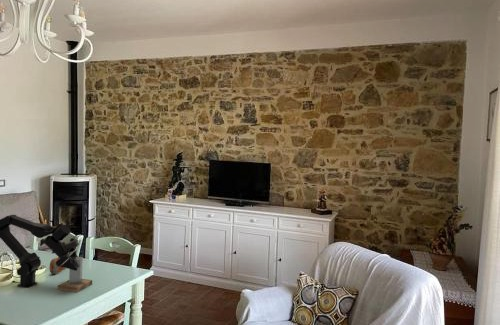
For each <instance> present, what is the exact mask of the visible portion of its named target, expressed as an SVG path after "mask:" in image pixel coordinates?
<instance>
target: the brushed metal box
mask: <svg viewBox="0 0 500 325" xmlns="http://www.w3.org/2000/svg"><path fill="white" fill-rule="evenodd" d="M83 257H84V256H78V257H72V258H71V261H72V262H73V264H74V265H75V266H76V267H77V270H76V271H75V270H71V269H69V270H68V271H69V274H68V275H69V276H68V278H69V279H68V280H69V285H75V284H80V283H81V281H82V279H83Z"/></svg>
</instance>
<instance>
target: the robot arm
mask: <svg viewBox="0 0 500 325" xmlns="http://www.w3.org/2000/svg"><path fill="white" fill-rule="evenodd" d="M11 225H12V226H15V227H17V228H20V229H22V230H26V231H28V232H29V233H30V234H32V236H34V237H36V238H37V239H40V241H39V242H40V243H39V246H40V247H42V246H43V245H45V246H46V247H47V248H49V250H51V254H55V255H56V257H57V256H58V260H57V261H56V265H57V266H58V267H59V266H60V265H61V266H60V267H64V268H65V269H69V270H70V269H71V270H75V271H76V270H77V267H76V266H75V265H74V264H73V262H72V261H71V258H72V257H79V256H78V254H77V251H78V249H77V247H79V245H80V243H79V240H78V239H77V238H75V237H71V238H70V239H69V241H68V242H65V241H63V240H65V238H66V237H68V235H70V234H71V232H72V231H71V228H70V227H69V226H67V225H66V224H63V222H62V223H58V224H57V226H56V227H54V226H51V225H50V224H48V223H43V222H42V223H41V222H39V223H38V222H34V221H31V220H29V219H26V218H24V217H21V216H18V215H16V214H10V215H6V216H4V217H3V218H0V240H2V242H3V243H4V244H5V245H6V246H7V248H9V249H10V250H11V252H12V253H13V254H14V255H15V256H16V257H17V258H18V261H19V266H20V267H19V268H18V269H17V270H16V274H17V275H18V276H19V278H20V279H19V283H18V284H17V287H22V288H30V287H32V286H34V285H36V284H38V281H36V272H37V271H39V268H40V267H41V264H42V261H41V259H40V256H38V255H37V253H36V252H35V251H34V252H29V251H28V250H27V249H26V248H25V246H23V245H22V243H21V242H20V241H19V240H18V239H17V238H16V237H15V236H14V235H13V233H12V232H11V228H10V226H11ZM44 237H45V238H44ZM41 238H42V239H41Z"/></svg>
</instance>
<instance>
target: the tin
mask: <svg viewBox="0 0 500 325" xmlns="http://www.w3.org/2000/svg"><path fill="white" fill-rule="evenodd" d="M57 260H58V256H57V255H56V256H55V257H54V258H52V259H51V260H50V262H49V273H50V274H52V275H57V274H59V273H61V272H62V271H64V270H65V269H66V268H64V267H60V266H61V265H60V266H59V267H58V266H57V265H56V261H57Z"/></svg>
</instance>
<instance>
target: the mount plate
mask: <svg viewBox="0 0 500 325" xmlns="http://www.w3.org/2000/svg"><path fill="white" fill-rule="evenodd" d="M91 285H93V279H86V278H82V281H81V283H80V284H75V285H69V279H68V280H66V281H64V282H62V283H60V284H58V285H57V290H58V291H59V290H60V291H66V292H72V293H78V292H81V291H82V290H84V289H86V288H87V287H90V286H91Z"/></svg>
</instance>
